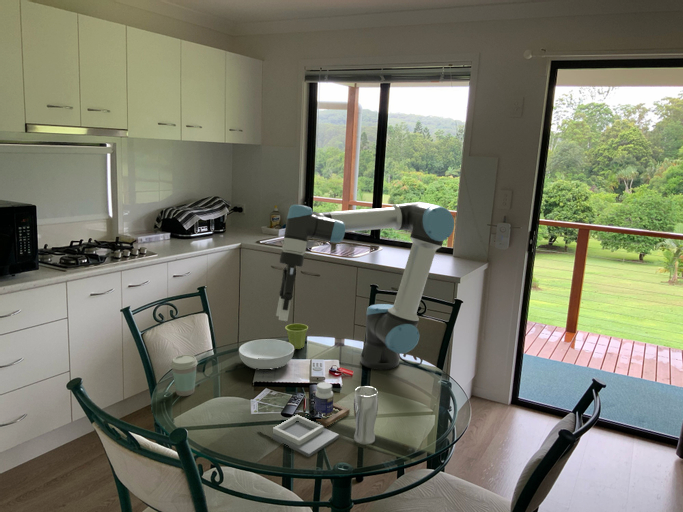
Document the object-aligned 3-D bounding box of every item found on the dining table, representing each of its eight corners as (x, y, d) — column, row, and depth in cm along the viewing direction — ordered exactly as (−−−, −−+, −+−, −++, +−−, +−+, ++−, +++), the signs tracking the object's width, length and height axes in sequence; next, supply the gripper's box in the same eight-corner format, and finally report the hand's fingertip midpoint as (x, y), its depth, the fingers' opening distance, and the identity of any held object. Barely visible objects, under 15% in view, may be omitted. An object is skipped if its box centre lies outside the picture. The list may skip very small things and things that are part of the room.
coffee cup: (190, 384, 188) (189, 352, 186) (203, 392, 182) (202, 359, 180) (167, 391, 182) (165, 358, 180) (179, 400, 176) (178, 366, 174)
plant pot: (280, 347, 224) (280, 327, 222) (295, 341, 231) (295, 321, 229) (297, 353, 218) (297, 332, 216) (312, 346, 226) (312, 326, 224)
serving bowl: (304, 362, 210) (305, 345, 208) (271, 381, 192) (271, 363, 191) (262, 350, 220) (262, 334, 219) (227, 368, 202) (226, 350, 201)
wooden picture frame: (321, 402, 178) (321, 398, 177) (349, 413, 171) (349, 409, 170) (297, 415, 169) (297, 411, 168) (326, 427, 162) (326, 423, 162)
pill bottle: (330, 420, 166) (331, 390, 164) (312, 417, 168) (313, 388, 166) (334, 411, 172) (335, 382, 170) (317, 409, 173) (317, 380, 171)
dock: (288, 415, 169) (288, 407, 168) (338, 437, 157) (339, 429, 156) (258, 431, 159) (258, 424, 158) (309, 457, 147) (309, 448, 146)
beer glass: (351, 432, 160) (352, 385, 156) (374, 432, 160) (376, 385, 157) (353, 445, 153) (355, 397, 150) (378, 445, 153) (380, 396, 150)
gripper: (279, 251, 185) (268, 313, 184) (284, 249, 161) (271, 320, 160) (300, 255, 187) (289, 316, 186) (308, 254, 162) (296, 324, 161)
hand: (281, 318), depth 173 cm, fingers open, 13 cm apart
